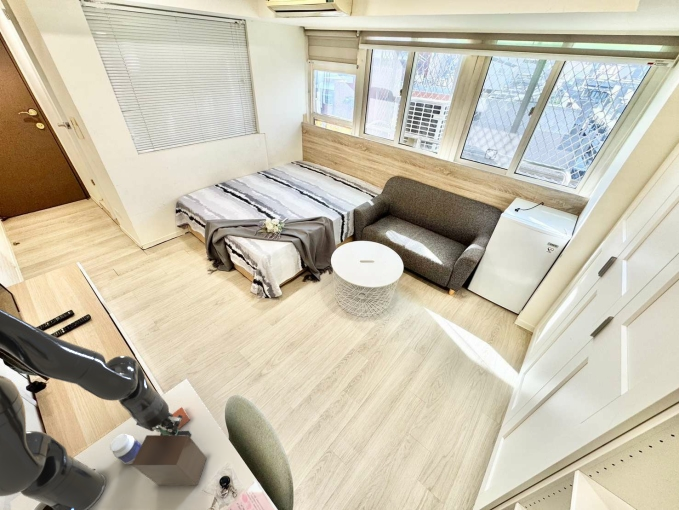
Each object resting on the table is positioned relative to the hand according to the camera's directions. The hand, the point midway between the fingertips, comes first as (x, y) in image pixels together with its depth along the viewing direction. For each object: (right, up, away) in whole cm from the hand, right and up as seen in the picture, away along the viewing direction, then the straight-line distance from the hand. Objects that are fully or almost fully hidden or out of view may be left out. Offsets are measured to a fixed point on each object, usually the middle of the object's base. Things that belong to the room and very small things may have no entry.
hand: (171, 432), depth 87 cm
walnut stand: (+6, -10, -3) cm, 12 cm away
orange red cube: (-2, -2, +9) cm, 10 cm away
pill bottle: (-13, -8, +1) cm, 15 cm away
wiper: (0, -4, +3) cm, 5 cm away
